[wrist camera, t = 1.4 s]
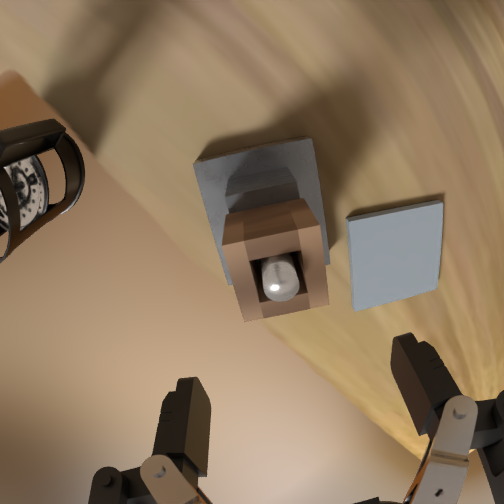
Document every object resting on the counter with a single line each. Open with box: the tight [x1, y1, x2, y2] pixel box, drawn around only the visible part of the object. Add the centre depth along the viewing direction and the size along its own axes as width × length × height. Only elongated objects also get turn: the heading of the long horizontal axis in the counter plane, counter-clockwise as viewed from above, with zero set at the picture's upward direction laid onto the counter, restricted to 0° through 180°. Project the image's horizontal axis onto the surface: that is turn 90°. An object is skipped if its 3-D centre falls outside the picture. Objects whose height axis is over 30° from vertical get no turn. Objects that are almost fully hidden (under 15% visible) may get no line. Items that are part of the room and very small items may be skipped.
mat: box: [346, 200, 443, 312], centre depth 31 cm, size 11×11×1 cm
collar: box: [222, 198, 329, 322], centre depth 20 cm, size 6×6×5 cm
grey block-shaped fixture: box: [193, 136, 330, 302], centre depth 23 cm, size 12×10×13 cm
